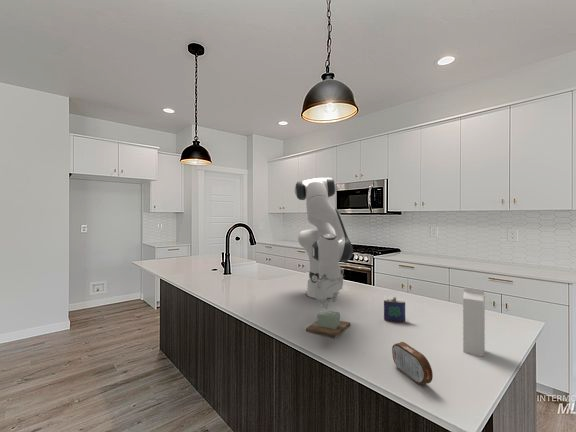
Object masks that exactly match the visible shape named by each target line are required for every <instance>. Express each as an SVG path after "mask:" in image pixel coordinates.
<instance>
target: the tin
mask: <svg viewBox="0 0 576 432" xmlns="http://www.w3.org/2000/svg"><path fill="white" fill-rule="evenodd" d="M391 352H392V353H391V354H392V359H393V362H394V364H395V367H397V369H398V370H399V371H400V372H402V373H403V374H404V375H406V376H407V377H408V378H409V379H411V380H412V381H413V382H414V383H416V384H417V385H420V386H422V385H427V384H430V383H431V382H432V381H433V377H434V374H433V369H432V366H431V364H430V362H429V360H428V358H427V357H426V356H425V355H424V354H423V353H421V352H420V351H418V349H417V350H416V349H415V348H414V347H412V346H411V345H409V344H408V343H406V342H405V341H399V342H397V343H394V344H393V345H392V348H391Z"/></svg>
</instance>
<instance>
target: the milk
mask: <svg viewBox="0 0 576 432" xmlns="http://www.w3.org/2000/svg"><path fill="white" fill-rule="evenodd" d="M485 297H486V296H485V290H484V289H480V288H473V287H464V288H463V298H462V308H463V309H462V330H463V331H462V335H463V337H462V343H463V344H462V346H463V347H462V352H463V353H467V354H469V355H474V356H479V357H484V355H485V350H486V349H485V348H486V346H485V342H486V341H485V340H486V337H485V336H486V335H485V334H486V333H485V330H486V329H485V327H486V326H485V324H486V322H485V320H486V318H485V317H486V316H485V313H486V311H485V309H486V308H485V307H486V306H485V303H486V302H485Z"/></svg>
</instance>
